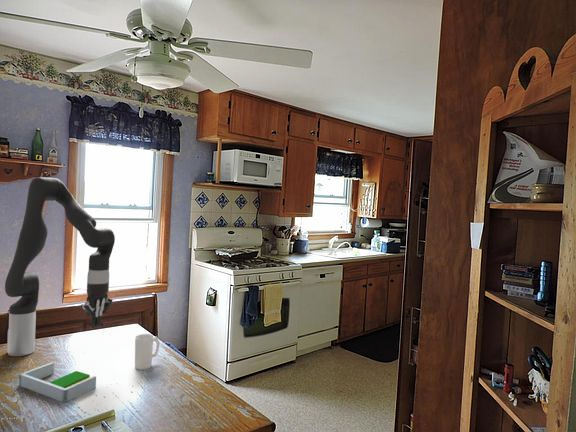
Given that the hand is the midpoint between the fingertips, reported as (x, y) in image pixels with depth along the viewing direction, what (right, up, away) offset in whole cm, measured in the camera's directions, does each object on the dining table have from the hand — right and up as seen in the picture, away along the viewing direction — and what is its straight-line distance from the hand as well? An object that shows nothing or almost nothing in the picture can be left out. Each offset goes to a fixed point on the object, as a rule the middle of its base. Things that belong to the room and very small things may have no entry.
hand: (96, 325), depth 152 cm
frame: (-7, -18, -13) cm, 23 cm away
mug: (+17, -18, +8) cm, 26 cm away
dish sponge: (-5, -18, -12) cm, 23 cm away
